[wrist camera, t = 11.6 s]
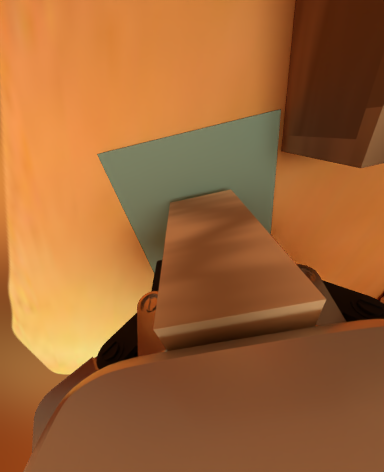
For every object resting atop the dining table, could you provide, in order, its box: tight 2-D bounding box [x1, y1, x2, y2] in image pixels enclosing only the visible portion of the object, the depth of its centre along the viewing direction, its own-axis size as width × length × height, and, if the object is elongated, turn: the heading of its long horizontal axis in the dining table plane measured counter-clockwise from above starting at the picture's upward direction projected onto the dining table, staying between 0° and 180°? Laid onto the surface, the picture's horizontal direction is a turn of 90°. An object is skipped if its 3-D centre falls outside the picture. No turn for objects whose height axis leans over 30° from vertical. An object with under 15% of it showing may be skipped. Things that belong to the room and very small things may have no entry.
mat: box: [97, 109, 281, 274], centre depth 14 cm, size 12×14×1 cm
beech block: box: [153, 190, 326, 351], centre depth 10 cm, size 4×6×9 cm
